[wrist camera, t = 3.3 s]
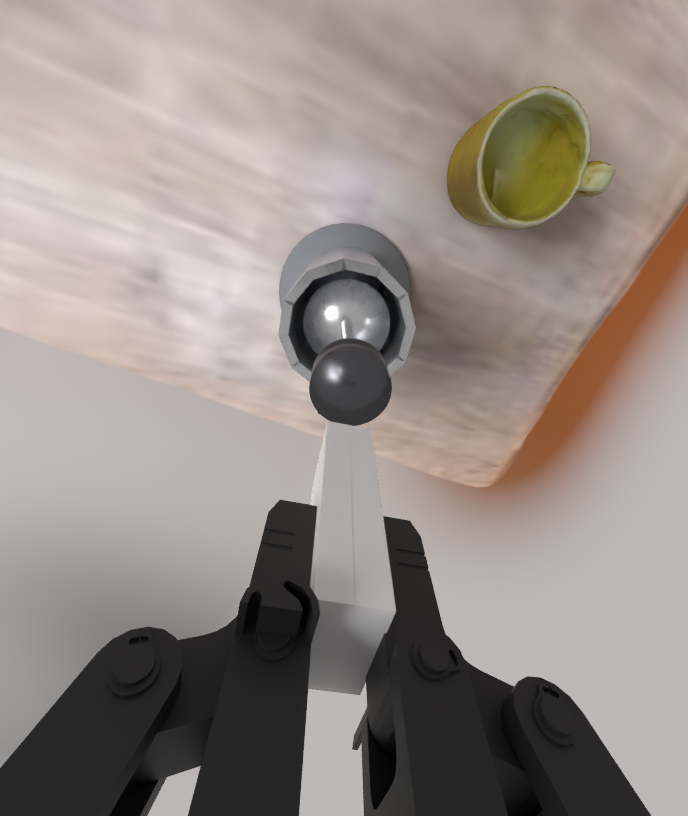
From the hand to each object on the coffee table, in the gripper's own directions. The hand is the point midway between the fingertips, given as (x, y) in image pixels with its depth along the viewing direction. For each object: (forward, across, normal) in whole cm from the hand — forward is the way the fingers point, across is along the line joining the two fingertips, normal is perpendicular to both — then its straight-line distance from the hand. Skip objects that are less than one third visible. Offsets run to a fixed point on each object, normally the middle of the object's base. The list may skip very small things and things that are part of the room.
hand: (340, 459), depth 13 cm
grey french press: (+31, 0, -1) cm, 31 cm away
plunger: (+19, 0, 0) cm, 19 cm away
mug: (+31, +13, +14) cm, 37 cm away
